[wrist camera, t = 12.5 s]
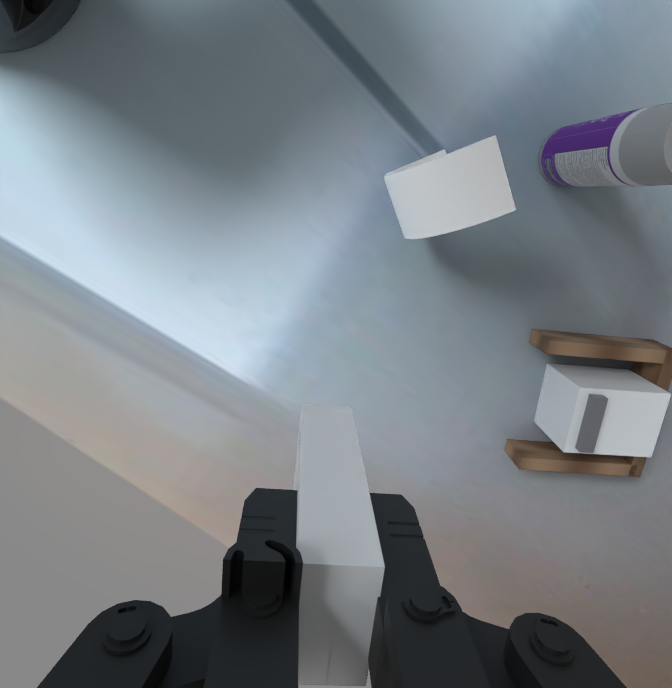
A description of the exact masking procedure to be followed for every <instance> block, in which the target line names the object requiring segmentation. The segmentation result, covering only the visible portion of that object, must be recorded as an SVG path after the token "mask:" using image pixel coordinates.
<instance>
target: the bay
mask: <svg viewBox="0 0 672 688" xmlns="http://www.w3.org/2000/svg"><path fill="white" fill-rule="evenodd" d="M529 342H530V343H531V344H533V345H534V346H536V347H537V348H539V349H540V350H542V351H543V352H544V353H546V354H553V355H565V356H577V357H589V358H601V359H613V360H625V361H635V362H634V365H633V369H632V372H634V373H635V374H637V375H639V376H641V377H642V378H644V379H646V380H648V381H650V382H651V383H653V384H655V385H657V386H658V387H660V388H662V389H664V390H665V391H668V388H669V385H670V382H671V379H672V348H671V347H668V346H666V345H664V344H661V343H659V342H657V341H655V340H648V339H637V338H625V337H614V336H602V335H591V334H579V333H568V332H557V331H545V330H534V329H532V331H531V336H530V340H529ZM505 451H506V453H507V454H508V455H509V457H510V458H511V459H512V461H513V462H514V463H515V465H516V466H517V467H518V469H522V470H538V471H554V472H570V473H586V474H602V475H618V476H634V477H640V475H641V472H642V469H643V466H644V463H645V460H646V457H636V456H619V455H601V454H584V453H567V452H563V451H562V450H561V449H560V448H559V447H558V446H557V445H556V444H555V443H554V442H540V441H525V440H510V439H507V442H506V446H505Z"/></svg>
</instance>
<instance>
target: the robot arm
mask: <svg viewBox="0 0 672 688" xmlns="http://www.w3.org/2000/svg"><path fill="white" fill-rule="evenodd" d="M79 2H80V0H0V52H12V51H18V50H22V49H26V48H29V47H32V46H35V45H37V44H39V43H41V42H43V41H45V40H46V39H48V38H50V37H51V36H52V35H54V34H55V33H56V32H57V31H58V30H60V29H61V28H62V27H63V26H64V25H65V23H66V22H67V21H68V20H69V19H70V17H71V16H72V14H73V13H74V11H75V10H76V8H77V6H78V4H79ZM368 669H369V670H370V678H371V686H372V688H626V686H625V685H624V684H623V683H622V682H621V681H620V680H619V678H618V677H617V676H616V675H615V674H614V673H613V672H612V670H611V669H610V668H609V667H608V666H607V665H606V664H605V662H604V661H603V660H602V659H601V658H600V657H599V656H598V654H597V653H596V652H595V651H594V650H593V649H592V648H591V646H590V645H589V644H588V643H587V642H586V641H585V640H584V638H583V637H581V636H580V635H579V634H578V633H577V632H576V631H575V630H574V629H573V628H571V627H570V626H569V625H567V624H565V623H563V622H562V621H560V620H558V619H556V618H554V617H551V616H548V615H544V614H541V613H525V614H523V615H520V616H518V617H516V618H515V619H514V621H513V623H512V624H511V626H510V629H506V628H503V627H499V626H496V625H493V624H490V623H486V622H483V621H480V620H478V619H475V618H473V617H470V616H469V615H467V614H465V613H464V612H462V609H461V607H460V606H459V604H458V602H457V601H456V599H455V597H454V596H453V595H452V594H450V593H449V592H448V591H447V590H446V589H445V588H444V587H441V586H440V583H439V580H438V577H437V575H436V572H435V569H434V566H433V563H432V560H431V557H430V554H429V551H428V548H427V545H426V542H425V539H423V533H422V530H421V527H420V526H419V521H418V518H417V515H416V512H415V509H414V508H413V506H412V505H411V504H410V503H409V502H408V501H407V500H406V499H405V498H404V497H403V496H402V495H397V494H379V493H369V488H368V484H367V479H366V474H365V469H364V464H363V459H362V455H361V450H360V445H359V440H358V435H357V431H356V426H355V421H354V416H353V411H352V407H339V406H325V405H311V404H301V413H300V424H299V435H298V447H297V458H296V469H295V480H294V490H282V489H265V488H256V489H255V490H254V491H253V492H252V493H251V494H250V495H249V496H248V497H247V499H246V500H245V502H244V507H243V512H242V518H241V522H240V527H239V532H238V537H237V542H236V543H235V544H234V545H233V546H232V547H230V548H229V549H228V551H227V553H226V555H225V557H224V559H223V574H222V594H221V596H220V597H218V598H217V599H216V600H215V601H214V602H212V603H211V604H209V605H208V606H206V607H204V608H202V609H199V610H196V611H194V612H190V613H187V614H182V615H178V616H174V617H170V615H169V614H168V613H167V612H166V610H165V609H164V608H163V607H162V606H159V605H157V604H155V603H153V602H151V601H139V600H133V601H129V602H124V603H119V604H116V605H115V606H112V607H111V608H108V609H107V610H105V611H103V612H101V613H100V614H99V615H98V616H97V617H96V618H94V620H92V621H91V622H90V623H89V624H88V625H87V627H86V628H85V629H84V630H83V631H82V633H81V634H80V635H79V636H78V638H77V639H76V640H75V641H74V643H73V644H72V645H71V646H70V647H69V649H68V650H67V651H66V652H65V654H64V655H63V656H62V657H61V659H60V660H59V661H58V662H57V664H56V665H55V666H54V667H53V669H52V670H51V671H50V672H49V674H48V675H47V676H46V677H45V679H44V680H43V681H42V682H41V683H40V685H39V686H38V687H37V688H298V685H299V684H300V685H337V686H366V682H367V676H368Z"/></svg>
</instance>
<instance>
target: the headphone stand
mask: <svg viewBox="0 0 672 688" xmlns="http://www.w3.org/2000/svg"><path fill="white" fill-rule="evenodd" d="M384 180H385V183H386V186H387V189H388V192H389V195H390V198H391V201H392V203H393V206H394V209H395V212H396V215H397V218H398V221H399V224H400V226H401V229H402V232H403V235H404V237H405V238H406V239H421V238H427V237H433V236H437V235H442V234H446V233H450V232H453V231H457V230H460V229H464V228H467V227H470V226H474V225H477V224H480V223H483V222H486V221H489V220H491V219H494V218H497V217H500V216H502V215H505V214H508V213H510V212H513V211H515V210H516V208H515V204H514V200H513V197H512V193H511V189H510V186H509V182H508V178H507V175H506V171H505V167H504V164H503V160H502V156H501V153H500V149H499V145H498V142H497V138H496V135H495V136H491V137H488V138H486V139H484V140H481V141H479V142H476V143H474V144H471V145H469V146H466V147H464V148H461V149H459V150H456V151H454V152H451V153H449V154H446V151H445V149H444V150H441V151H439V152H436V153H434V154H431V155H429V156H427V157H424V158H422V159H419V160H417V161H415V162H412V163H410V164H407V165H405V166H403V167H400V168H398V169H395V170H393V171H391V172H388V173H386V174H385V176H384Z"/></svg>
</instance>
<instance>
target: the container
mask: <svg viewBox="0 0 672 688" xmlns="http://www.w3.org/2000/svg"><path fill="white" fill-rule="evenodd" d="M539 167H540V171H541V173H542V175H543V176H544V178H545V179H546V180H547V181H548V182H550V183H551V184H554V185H557V186H654V185H672V103H667V104H662V105H657V106H652V107H646V108H642V109H637V110H633V111H629V112H625V113H621V114H616V115H612V116H608V117H604V118H600V119H595V120H591V121H587V122H583V123H579V124H574V125H570V126H566V127H563V128H560V129H558V130H556V131H554V132H553V133H552V134H550V135H549V136H548V137H547V139H546V140H545V141H544V143H543V145H542V147H541V150H540V153H539Z"/></svg>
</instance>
